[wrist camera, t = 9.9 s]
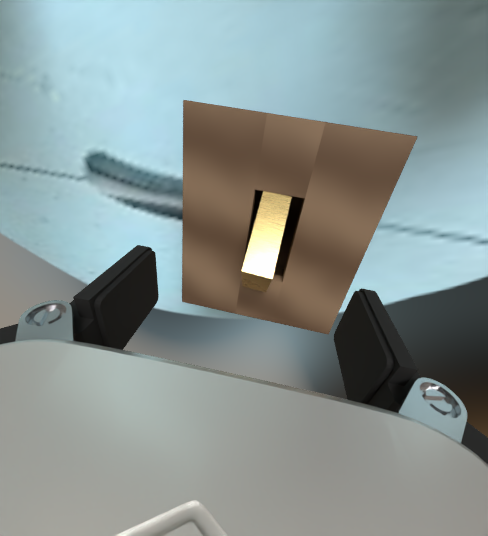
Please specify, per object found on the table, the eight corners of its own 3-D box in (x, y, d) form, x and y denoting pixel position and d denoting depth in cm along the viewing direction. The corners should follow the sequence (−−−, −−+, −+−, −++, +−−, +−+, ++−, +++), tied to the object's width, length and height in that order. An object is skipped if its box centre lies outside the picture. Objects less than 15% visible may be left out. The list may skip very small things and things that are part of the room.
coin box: (222, 112, 23) (183, 99, 15) (368, 135, 22) (417, 136, 14) (211, 255, 31) (182, 301, 23) (317, 277, 30) (328, 334, 22)
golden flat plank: (263, 190, 16) (241, 271, 15) (291, 196, 16) (272, 278, 15) (259, 223, 21) (242, 286, 20) (281, 228, 21) (265, 292, 20)
